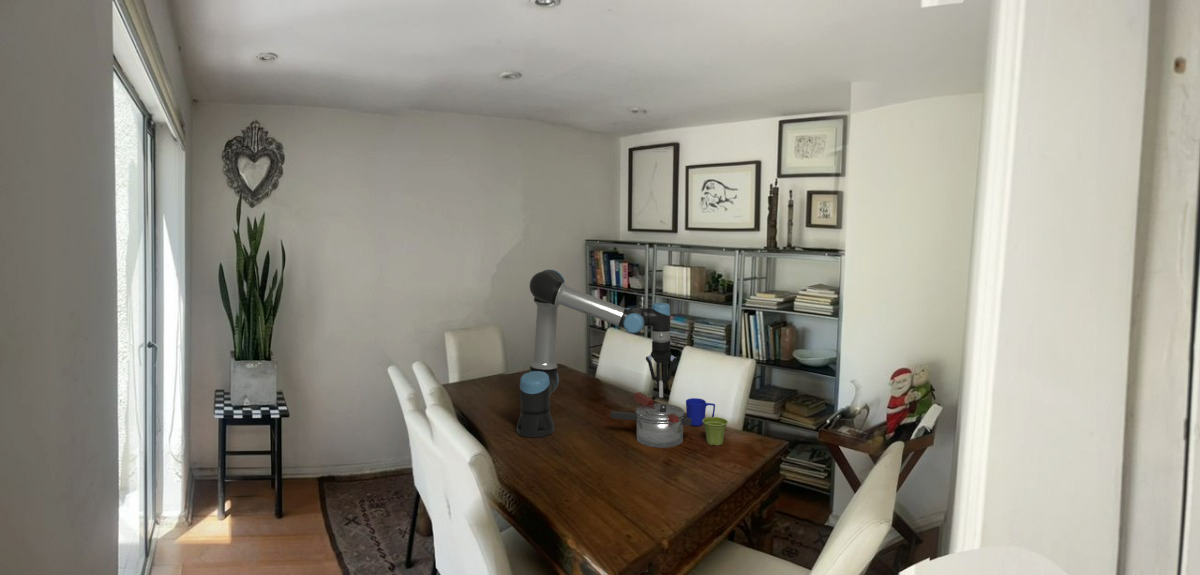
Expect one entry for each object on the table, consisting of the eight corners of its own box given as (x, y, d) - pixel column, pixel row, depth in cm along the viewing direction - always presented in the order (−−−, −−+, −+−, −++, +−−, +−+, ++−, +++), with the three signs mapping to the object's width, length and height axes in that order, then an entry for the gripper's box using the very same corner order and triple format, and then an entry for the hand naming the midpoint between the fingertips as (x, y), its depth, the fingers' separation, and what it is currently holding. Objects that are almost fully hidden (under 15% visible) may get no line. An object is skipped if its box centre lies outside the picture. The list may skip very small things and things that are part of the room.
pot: (605, 442, 222) (605, 416, 221) (617, 426, 240) (617, 402, 238) (687, 451, 213) (687, 424, 212) (694, 433, 230) (694, 409, 229)
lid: (617, 402, 238) (617, 392, 238) (656, 396, 245) (657, 387, 245) (653, 426, 209) (653, 415, 209) (697, 419, 216) (697, 409, 216)
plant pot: (712, 449, 214) (713, 426, 214) (697, 441, 223) (697, 419, 222) (732, 444, 219) (732, 422, 218) (716, 436, 227) (716, 415, 226)
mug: (714, 428, 236) (715, 405, 235) (685, 426, 238) (685, 403, 237) (714, 422, 244) (715, 399, 243) (686, 420, 246) (686, 397, 245)
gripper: (644, 342, 234) (645, 398, 236) (677, 342, 232) (677, 399, 235) (645, 338, 241) (645, 393, 244) (677, 338, 239) (676, 394, 242)
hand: (661, 396), depth 239 cm, fingers closed
